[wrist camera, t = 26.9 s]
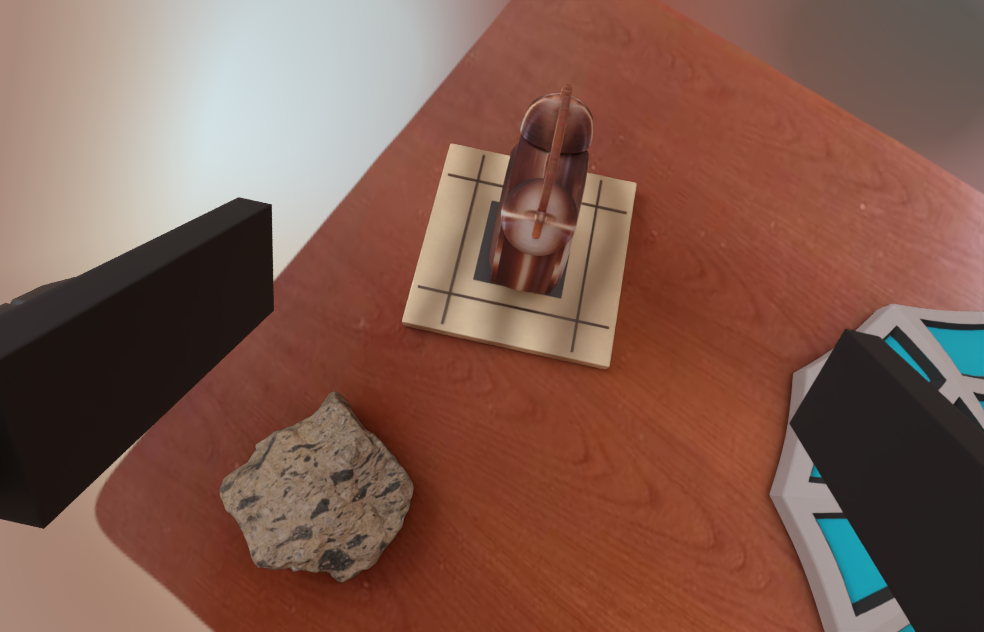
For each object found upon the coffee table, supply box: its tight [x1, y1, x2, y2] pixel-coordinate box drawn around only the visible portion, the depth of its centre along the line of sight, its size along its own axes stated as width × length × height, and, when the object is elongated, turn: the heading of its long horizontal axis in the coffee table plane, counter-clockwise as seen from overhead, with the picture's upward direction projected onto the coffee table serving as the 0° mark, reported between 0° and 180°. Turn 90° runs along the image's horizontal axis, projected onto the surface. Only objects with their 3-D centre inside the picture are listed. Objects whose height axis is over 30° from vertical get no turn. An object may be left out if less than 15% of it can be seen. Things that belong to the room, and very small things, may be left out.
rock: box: [219, 391, 413, 583], centre depth 35 cm, size 11×11×4 cm
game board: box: [402, 143, 637, 370], centre depth 42 cm, size 16×16×1 cm
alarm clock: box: [489, 84, 593, 294], centre depth 34 cm, size 11×5×15 cm, turn 168°
